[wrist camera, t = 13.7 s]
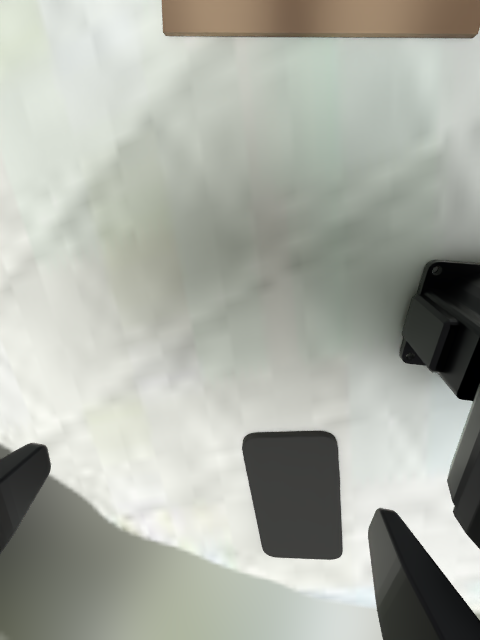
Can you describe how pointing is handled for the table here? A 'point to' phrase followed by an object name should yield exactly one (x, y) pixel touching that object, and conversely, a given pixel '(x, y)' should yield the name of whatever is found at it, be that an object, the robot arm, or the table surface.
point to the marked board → (322, 18)
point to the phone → (295, 493)
